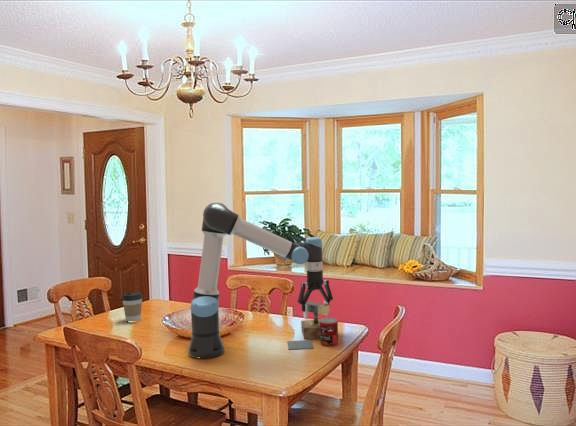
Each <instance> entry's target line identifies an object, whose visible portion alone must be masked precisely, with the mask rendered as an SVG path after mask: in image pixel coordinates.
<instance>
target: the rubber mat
mask: <svg viewBox="0 0 576 426" xmlns="http://www.w3.org/2000/svg"><path fill="white" fill-rule="evenodd" d="M286 343H287V348H288V351H293V350H295V351H297V350H299V351H300V350H314V349H315V347H314V345H313V341H312V339H303V340H287V341H286Z"/></svg>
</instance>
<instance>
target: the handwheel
mask: <svg viewBox="0 0 576 426" xmlns="http://www.w3.org/2000/svg"><path fill="white" fill-rule="evenodd" d="M306 305H307V313H313V320H314V323H318V320H319V315H320V316H321V315H324V314H326V313H328V314H329V313H330V304H329V305H327V304H324V303H320V302H315V301H310V300H309V301H307V302H306Z"/></svg>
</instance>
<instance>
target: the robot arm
mask: <svg viewBox="0 0 576 426" xmlns="http://www.w3.org/2000/svg"><path fill="white" fill-rule="evenodd" d="M201 224H202V225H201V233H202V234H203V235H204V236H203V244H202V251H201V260H200V266H199V273H198V275H199V276H198V283H197V287H196V288H194V290H193V295H192V300H191V302H190V317H191V318H190V319H191V320H190V321H191V338H190V343H189V346H188V355H189V354H190V355H191V356H194V357H200V358H206V359H211V358H210V357H213V358H216V357H215V356H217V357H219V356H222V355H223V354H224V352H225V345H224V343H223V340H222V338H221V334H220V314H219V311H220V310H219V309H220V306H219V305H220V304H219V300H220V291H219V290H218V282H219V273H220V267H221V266H220V265H221V257H222V250H223V244H224V243H223V241H224V237H225V236H227V235H228V236H232V235H234V236H236V237H239V238H241V239H243V240H246V241H248V242H249V243H252V244H253V245H256V246H258V247H261V248H263V249H265V250H268V251H269V252H271V253H274V254H277V255H279V256H280V257H281V259H282V260H287V261H288V260H289V261H291V262H293V263H295V264H297V265H303V264H305V263H306V270H307V271H306V282H303V281H302V282H301V283H300V290H299V294H298V299H297V303H298V304H300V305H301V311H302V312H303V318H304V319H307V320H308V312H307V305H306V302H308V300H309V298H310V295H311V293H312V292H313V291H316V290H317V291H319V292H320V294H321V295H322V297H323V299H324V300H323V304H327V305H329V306H330V303H331V301H333V299H334V297H333V293H332V291H331V287H330V281H329V280H328V279H323V278H324V277H323V276H324V275H323V273H324V272H323V243H322V242H323V241H322V238H320V237H318V236H317V237H316V236H312V237H311V236H310V237H306V238H305V241H304V242H293V241H290V240H289V239H286V238H285V237H282V236H279V235H277V234H275V233H273V232H271V231H270V230H267V229H264V228H262V227H260V226H258V225H255V224H253V223H251V222H249V221H247V220H246V219H243V218H241V216H240V215H239V214H238V213H236V212H233V211H232V210H231V209H229V208H228V207H227V205H226V204H224V203H222V202H210V203H209V204H207V206H206V207H205V208H204V210H203V213H202V223H201ZM322 285H324V287H323V286H322ZM324 288H325V290H324ZM323 315H324V316H327V317H328V316H329V313H326V314H323ZM222 353H223V354H222ZM218 355H219V356H218ZM191 356H190V357H191Z"/></svg>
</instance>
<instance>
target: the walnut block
mask: <svg viewBox="0 0 576 426" xmlns="http://www.w3.org/2000/svg"><path fill="white" fill-rule="evenodd" d="M300 324H301V329H300V330H301V333H302V337H303V340H313V339H314V340H315V339H316V340H317V339H320V319H318V323H314V319H313V320H312V319H311V320H310V319H309V320H308V319H307V320H301V323H300Z"/></svg>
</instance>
